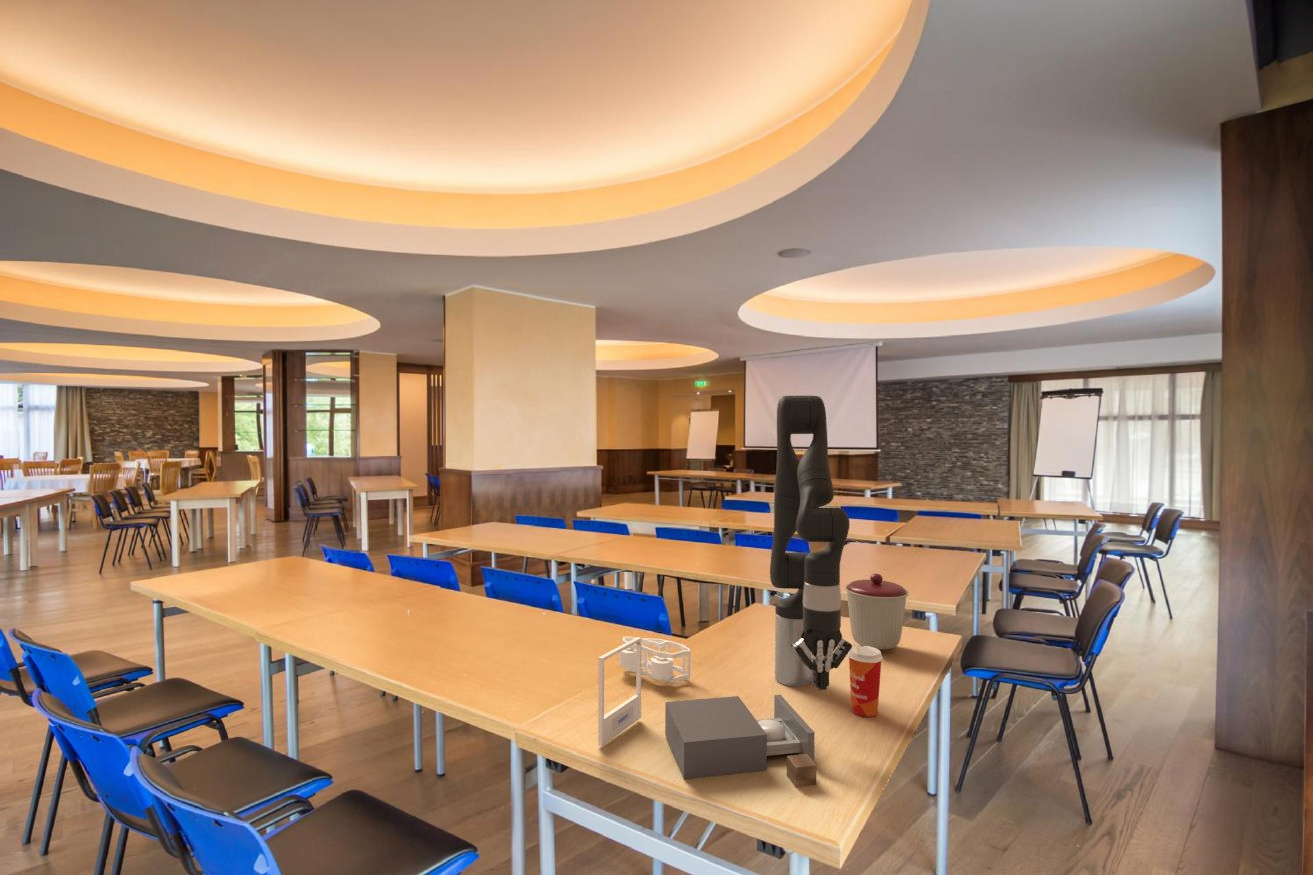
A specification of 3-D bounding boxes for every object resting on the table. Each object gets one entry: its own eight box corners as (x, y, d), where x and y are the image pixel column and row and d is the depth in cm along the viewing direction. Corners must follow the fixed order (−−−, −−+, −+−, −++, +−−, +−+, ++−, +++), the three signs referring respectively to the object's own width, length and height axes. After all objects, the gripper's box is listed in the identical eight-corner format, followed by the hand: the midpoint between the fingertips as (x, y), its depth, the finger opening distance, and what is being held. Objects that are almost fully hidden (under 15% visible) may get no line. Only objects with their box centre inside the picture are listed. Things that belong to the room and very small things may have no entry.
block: (806, 774, 116) (807, 753, 116) (816, 787, 112) (816, 765, 112) (786, 777, 115) (786, 755, 115) (795, 789, 112) (795, 767, 111)
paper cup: (841, 704, 146) (842, 644, 146) (873, 703, 146) (874, 644, 146) (855, 719, 138) (855, 657, 138) (888, 718, 139) (889, 656, 138)
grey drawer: (782, 722, 136) (782, 694, 136) (816, 764, 119) (816, 731, 119) (715, 728, 133) (715, 699, 133) (741, 771, 116) (741, 739, 116)
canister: (855, 630, 199) (856, 564, 199) (914, 641, 188) (915, 572, 188) (835, 646, 184) (836, 575, 184) (899, 659, 174) (899, 584, 173)
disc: (777, 727, 130) (778, 718, 130) (790, 742, 124) (790, 732, 124) (750, 730, 129) (750, 721, 129) (762, 745, 123) (762, 735, 123)
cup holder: (610, 669, 167) (610, 641, 167) (637, 657, 175) (637, 631, 175) (668, 689, 154) (669, 660, 154) (695, 675, 162) (695, 648, 162)
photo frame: (602, 746, 126) (603, 658, 126) (598, 745, 127) (598, 657, 126) (641, 717, 139) (642, 637, 138) (637, 716, 139) (637, 636, 139)
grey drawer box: (738, 728, 134) (738, 695, 134) (766, 771, 117) (766, 734, 117) (665, 734, 131) (665, 701, 131) (683, 780, 114) (684, 742, 114)
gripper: (799, 611, 123) (798, 698, 123) (860, 607, 126) (860, 693, 126) (784, 601, 130) (783, 683, 131) (842, 598, 133) (842, 679, 133)
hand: (821, 688), depth 128 cm, fingers closed
